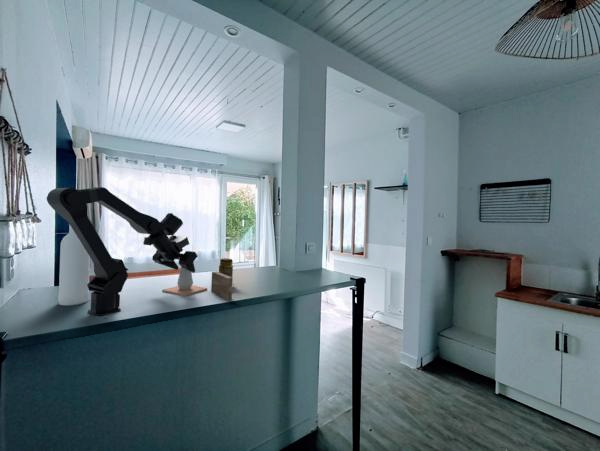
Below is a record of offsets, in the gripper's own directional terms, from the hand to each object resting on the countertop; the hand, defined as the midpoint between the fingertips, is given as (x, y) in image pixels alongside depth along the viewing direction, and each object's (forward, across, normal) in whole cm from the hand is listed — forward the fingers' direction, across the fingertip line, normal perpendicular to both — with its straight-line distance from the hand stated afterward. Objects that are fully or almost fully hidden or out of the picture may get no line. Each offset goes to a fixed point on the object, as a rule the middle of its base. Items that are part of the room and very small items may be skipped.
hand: (185, 270), depth 114 cm
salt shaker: (+5, 0, +6) cm, 8 cm away
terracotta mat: (+6, 0, +6) cm, 8 cm away
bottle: (-16, +17, +28) cm, 36 cm away
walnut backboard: (+8, -15, +3) cm, 18 cm away
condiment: (+17, -7, -5) cm, 19 cm away
